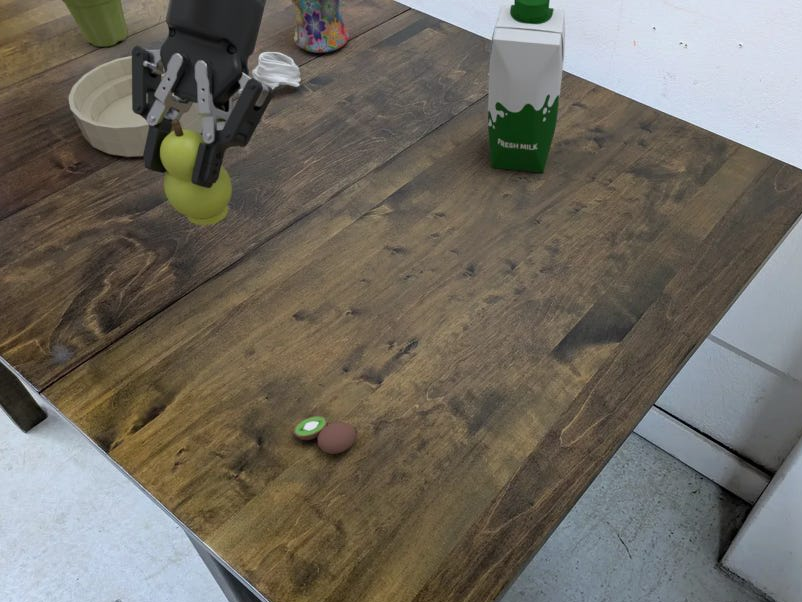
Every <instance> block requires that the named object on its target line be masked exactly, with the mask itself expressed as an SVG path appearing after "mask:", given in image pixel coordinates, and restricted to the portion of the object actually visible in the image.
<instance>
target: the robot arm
mask: <svg viewBox="0 0 802 602" xmlns="http://www.w3.org/2000/svg"><path fill="white" fill-rule="evenodd" d="M266 4H267V0H169V3H168V7H167V11H166V12H167V13H166V15H165V22H166V24H167V28H168V35H167V37H166V39H165V40H164V42H163V43H162V44H161V46H160V48H155V49H154V48H153V49H152V48H151V49H147V48H144V47H142V46H141V45H135V46H134V47H133V48H132V50H131V56H132V110H133V112H134V113H136V114H138V115H141V116H142V117H143V118H144V119H145V120H146V121H147V123H148V124H149V130H148V135H147V139H146V145H145V149H144V153H143V156H142V157H143V162H144V168H145V169H146V170H149V171H153V172H157V173H160V174H165V173H166V171H167V170H166V169H165V167H164V166H163V164H162V161H161V158H160V147H161V144H162V141H163V140H164V138H165V137H166V136H167V135H168V134H170V133H171V131H173V130H174V129H173V127H172V124H171V122H172V120H174V119H177V120H178V121H179V120H180V118H181V116H182V115H183V113H186V112H188V111H189V109H190V108H191V106H192V104H193V103H198V113H199V115H200V116H201V118H202V133H201V135H202V138H203V141H204V142H205V143H204V144H203V143H200V144H199V148H198V152H197V156H196V161H195V165H194V169H193V173H192V178H191V182H192V183H193V184H195V185H198V186H202V187H206V188H211V187H212V185H213V183H216V181H217V180H218V178H219V174H220V173H219V172H220V169H221V165H222V166H223V162H224V161H223V160H224V157H225V154H226V151H227V150H228V149H229V148H233V147H241V148H245V147H247V146H248V144H249V143H250V140H251V139H252V137H253V135H254V133H255V131H256V129H257V127H258V125H259V123H260V121H261V120H262V118H263V116H264V114H265V112H266V110H267V108H268V106H269V105H270V103H271V101H272V98H273V97H274V89H272V88H271V87H269V86H267V85H265V84H263V83H261V82H260V81H258V80H256V79H254V78H253V76H250V70H249V64H248V63H249V57H251V56H252V55H253V54H254V53H255V48H256V44H257V40H258V37H259V32H260V28H261V24H262V20H263V15H264V11H265V6H266ZM163 68H164V69H163ZM164 73H165V75H164V76H163V78H162V79H161V74H164ZM173 93H174V95H175V96H177V97H175V96H172V94H173ZM236 93H237V94H238V96H239V97H238V99H237V101H236V102H235V105H234V104H233V96H235V94H236ZM233 105H234V106H233ZM167 110H168V111H167ZM166 112H167V113H166ZM165 114H166V115H165Z"/></svg>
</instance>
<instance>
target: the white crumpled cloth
mask: <svg viewBox="0 0 802 602" xmlns="http://www.w3.org/2000/svg"><path fill="white" fill-rule="evenodd" d="M257 62H258V64H257V66H256V67H255V68H253V69H252V70H251V75H252V78H254V79H256V80H258V81H260V82H261V83H263V84H265V85H267V86H269V87H271V88H272V89H273V90H275V88H278V87H279V86H280V85H288V86H290V87H294V88H298V87H300V83H301V80H302V78H301V73H300V67H299V66H298V65H297V64H296V63H295V61H294V59H293V58H292V57H290V56H289V55H286V54H285V53H281V52H279V51H265V52H261V53H260V54H259V55H258V61H257Z"/></svg>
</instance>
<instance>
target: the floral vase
mask: <svg viewBox="0 0 802 602" xmlns="http://www.w3.org/2000/svg"><path fill="white" fill-rule="evenodd" d="M290 1H291V4H292V7H293V10H294V15H295V21H296V22H295V32H294V35H293V40H294V43H295V45H297V47H299V48H300V49H301V50H304V51H307V52H310V53H316V54H317V53H318V54H319V53H329V52H333V51H337V50H338V49H339V50H340V48H342V47H344V46H345V45H346V44H347V42H348V41H349V39H350V33H349V30H348V29H347V27H346V25H345V23H344V21H343V18H342V14H341V8H340V0H290Z"/></svg>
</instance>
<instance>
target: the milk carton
mask: <svg viewBox="0 0 802 602" xmlns="http://www.w3.org/2000/svg"><path fill="white" fill-rule="evenodd" d="M513 3H514V4H511V5H507V4H501V5H500V8H499V11H498V15H497V18H496V22H495V25H494V28H493V31H492V36H491V40H490V45H489V52H488V53H489V54H488V56H490V59H489V67H488V68H489V69H488V97H487V98H488V103H487V127H488V128H487V130H488V131H487V132H488V143H489V144H488V145H489V156H490V168H492V169H504V170H513V171H521V172H533V173H544V172H545V169H546V165H547V161H548V157H549V154H550V151H551V147H552V143H553V139H554V136H555V132H556V127H557V120H558V112H559V106H560V105H559V104H560V95H561V87H562V78H563V70H564V61H565V51H566V50H565V47H566V17H565V16H566V13H565V10H564V9H555V8H553V7H550V0H514V2H513Z"/></svg>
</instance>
